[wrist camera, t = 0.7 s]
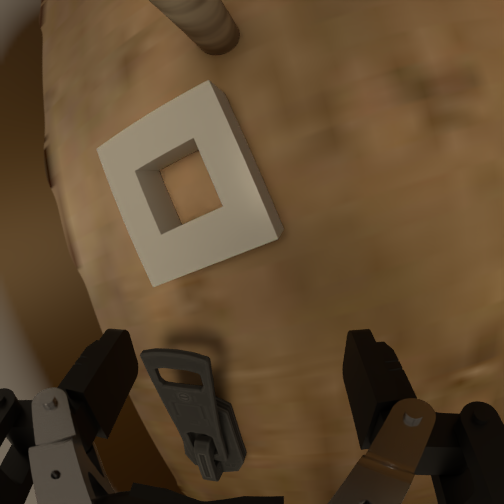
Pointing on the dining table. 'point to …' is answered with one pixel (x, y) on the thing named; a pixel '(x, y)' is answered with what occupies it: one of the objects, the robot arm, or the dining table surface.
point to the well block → (156, 195)
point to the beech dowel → (203, 23)
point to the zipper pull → (198, 412)
